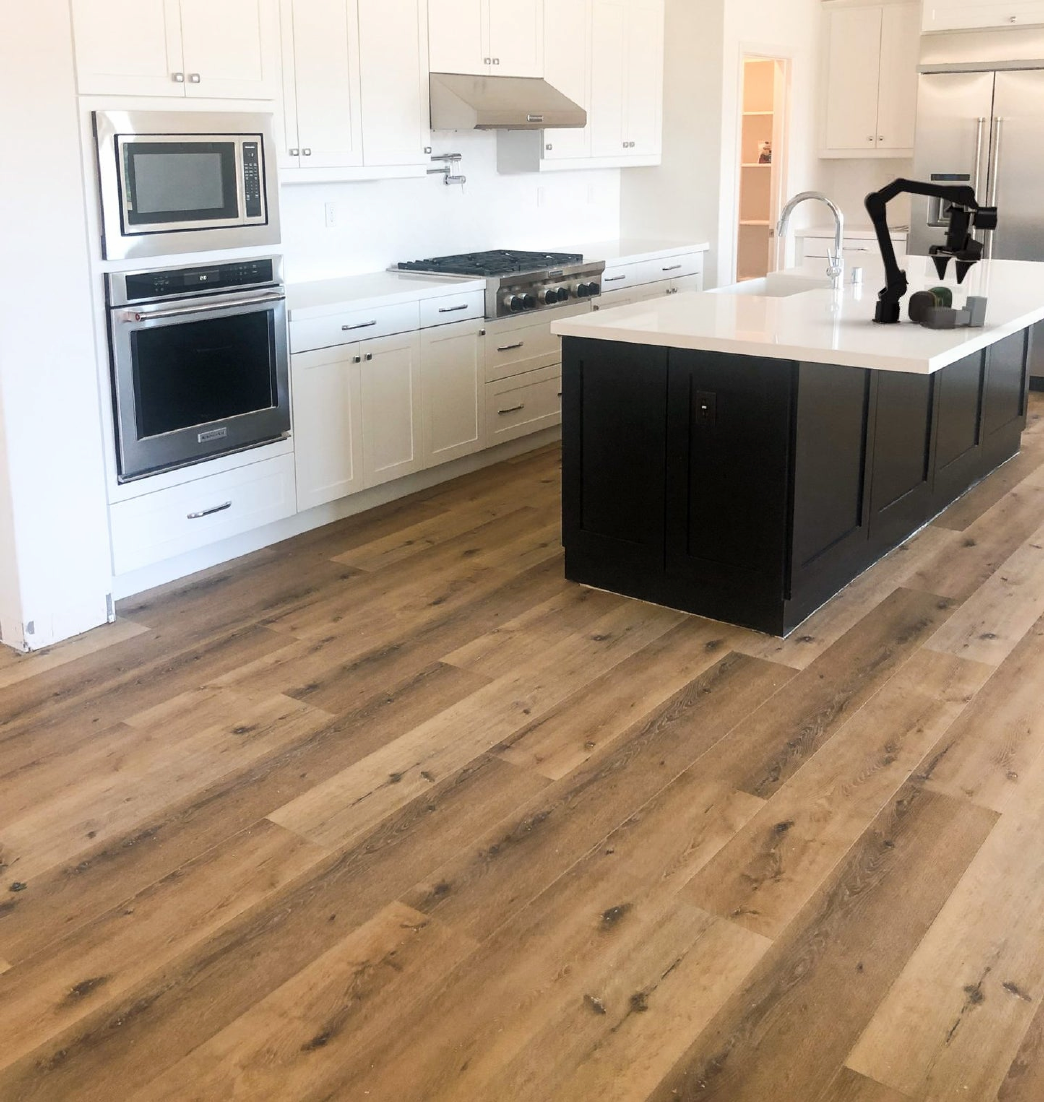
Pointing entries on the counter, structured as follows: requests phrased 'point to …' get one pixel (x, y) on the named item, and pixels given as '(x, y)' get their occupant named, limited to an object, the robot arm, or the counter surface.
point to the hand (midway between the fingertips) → (950, 282)
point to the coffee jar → (928, 301)
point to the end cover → (972, 311)
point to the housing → (938, 317)
